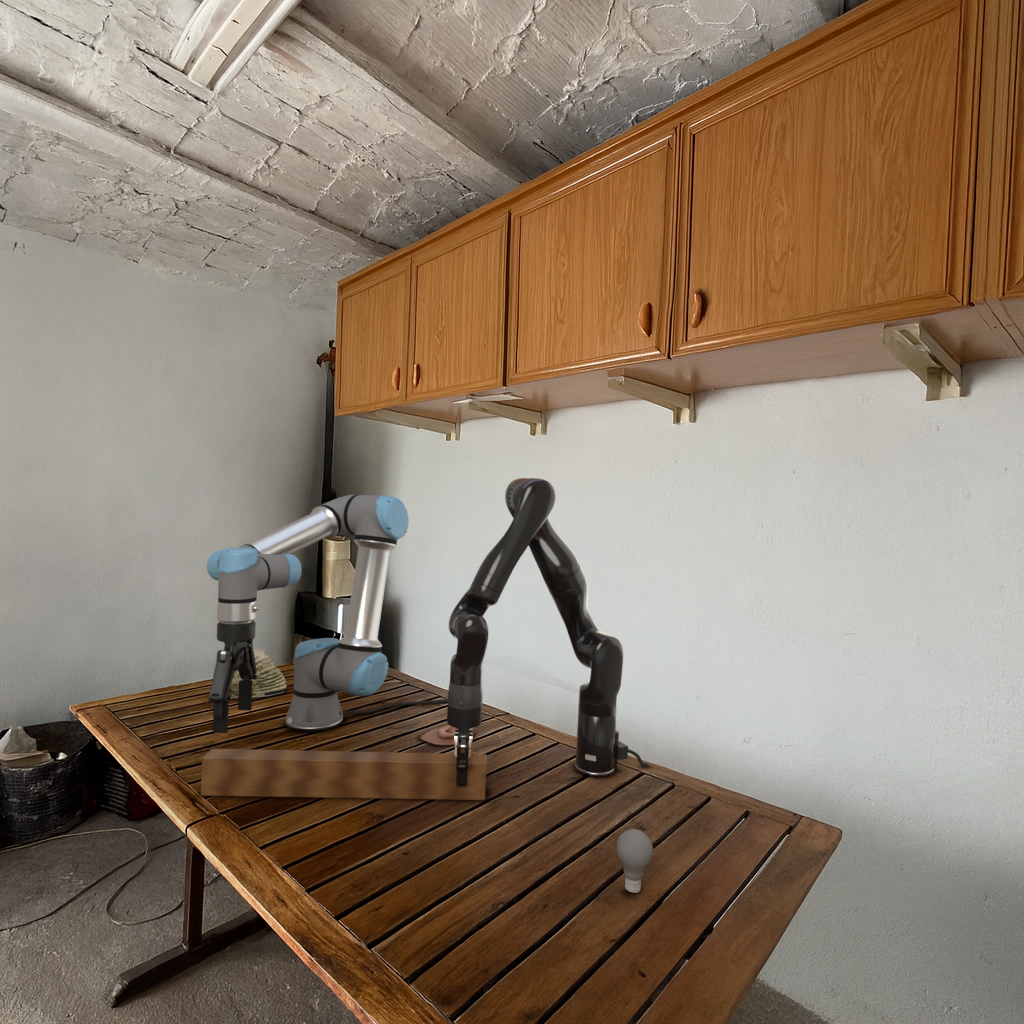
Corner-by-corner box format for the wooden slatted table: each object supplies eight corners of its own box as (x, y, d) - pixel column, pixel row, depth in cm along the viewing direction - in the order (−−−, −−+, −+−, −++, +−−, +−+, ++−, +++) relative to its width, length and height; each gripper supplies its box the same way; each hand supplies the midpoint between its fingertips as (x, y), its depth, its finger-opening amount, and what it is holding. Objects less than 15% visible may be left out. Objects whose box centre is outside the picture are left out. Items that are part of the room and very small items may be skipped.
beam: (200, 795, 132) (201, 758, 132) (210, 784, 137) (211, 748, 137) (485, 800, 135) (486, 763, 135) (484, 789, 140) (486, 754, 140)
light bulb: (610, 879, 108) (613, 822, 108) (644, 879, 109) (647, 822, 109) (619, 902, 102) (622, 840, 102) (655, 901, 103) (658, 840, 103)
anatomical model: (416, 727, 165) (431, 713, 176) (416, 742, 165) (430, 727, 176) (465, 733, 162) (477, 718, 174) (465, 748, 162) (476, 732, 174)
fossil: (218, 695, 195) (220, 647, 195) (278, 685, 208) (279, 640, 207) (228, 703, 189) (230, 653, 188) (289, 692, 201) (290, 645, 201)
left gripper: (232, 634, 122) (228, 743, 122) (273, 611, 147) (270, 702, 147) (192, 632, 121) (188, 742, 122) (240, 610, 146) (237, 701, 147)
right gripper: (482, 713, 130) (479, 795, 131) (482, 692, 145) (478, 766, 145) (446, 712, 130) (442, 794, 130) (449, 691, 144) (445, 765, 145)
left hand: (233, 720), depth 135 cm, fingers open, 13 cm apart
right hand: (461, 779), depth 138 cm, fingers closed on beam, 5 cm apart
